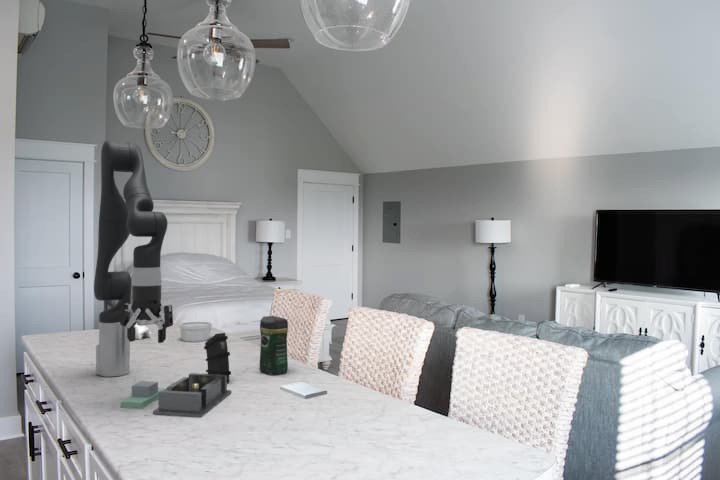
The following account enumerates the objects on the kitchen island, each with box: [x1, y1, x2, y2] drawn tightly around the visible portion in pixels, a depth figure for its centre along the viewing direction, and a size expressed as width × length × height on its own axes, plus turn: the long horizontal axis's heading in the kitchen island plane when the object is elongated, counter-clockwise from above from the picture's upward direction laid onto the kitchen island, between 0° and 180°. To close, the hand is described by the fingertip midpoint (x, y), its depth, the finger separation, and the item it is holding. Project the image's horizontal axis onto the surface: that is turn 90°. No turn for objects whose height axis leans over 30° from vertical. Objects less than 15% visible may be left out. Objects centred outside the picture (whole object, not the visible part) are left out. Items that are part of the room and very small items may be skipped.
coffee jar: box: [259, 315, 289, 375], centre depth 186 cm, size 10×8×19 cm
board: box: [120, 380, 167, 410], centre depth 154 cm, size 14×6×5 cm, turn 172°
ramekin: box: [179, 320, 213, 343], centre depth 237 cm, size 13×13×7 cm
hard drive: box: [279, 381, 328, 400], centre depth 164 cm, size 2×8×12 cm
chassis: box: [152, 372, 232, 418], centre depth 152 cm, size 21×13×6 cm, turn 172°
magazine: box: [203, 332, 232, 384], centre depth 176 cm, size 4×13×15 cm, turn 36°
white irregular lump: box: [134, 322, 153, 340], centre depth 240 cm, size 12×6×11 cm, turn 51°
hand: (146, 341), depth 154 cm, fingers open, 8 cm apart
